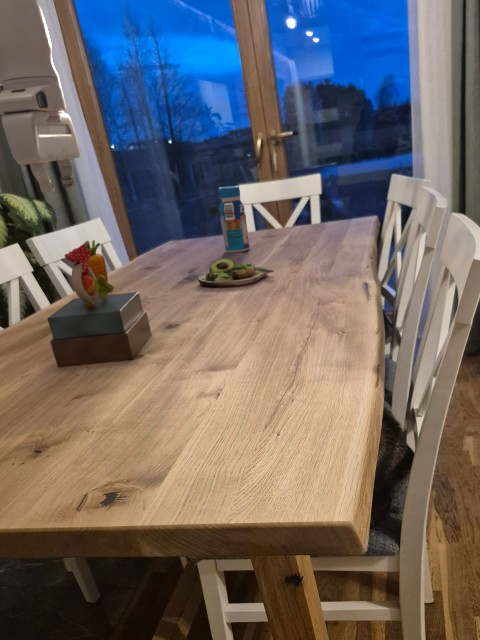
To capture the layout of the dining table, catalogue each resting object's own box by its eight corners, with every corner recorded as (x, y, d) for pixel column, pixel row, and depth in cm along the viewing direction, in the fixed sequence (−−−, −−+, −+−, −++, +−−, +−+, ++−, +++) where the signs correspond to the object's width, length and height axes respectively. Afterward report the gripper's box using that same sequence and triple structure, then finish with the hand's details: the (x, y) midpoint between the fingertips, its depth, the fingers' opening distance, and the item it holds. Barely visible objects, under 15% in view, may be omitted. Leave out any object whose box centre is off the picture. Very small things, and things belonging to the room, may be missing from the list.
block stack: (57, 367, 105) (43, 319, 101) (84, 341, 117) (72, 298, 114) (133, 359, 104) (121, 311, 100) (151, 334, 117) (141, 290, 113)
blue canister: (220, 252, 193) (210, 188, 184) (240, 247, 198) (231, 185, 189) (235, 254, 187) (225, 188, 179) (255, 248, 192) (247, 185, 184)
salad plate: (285, 270, 158) (283, 253, 156) (258, 287, 143) (256, 269, 141) (223, 271, 165) (220, 255, 163) (191, 288, 150) (187, 270, 148)
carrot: (105, 295, 153) (91, 237, 146) (117, 296, 150) (103, 237, 144) (90, 300, 149) (74, 241, 143) (101, 302, 146) (86, 242, 140)
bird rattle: (111, 316, 106) (117, 285, 112) (89, 266, 98) (97, 236, 104) (77, 320, 106) (85, 289, 112) (52, 270, 98) (63, 240, 104)
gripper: (43, 105, 104) (64, 186, 110) (-13, 100, 86) (15, 197, 92) (77, 101, 104) (96, 182, 110) (28, 95, 86) (54, 193, 91)
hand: (59, 189), depth 101 cm, fingers open, 8 cm apart
